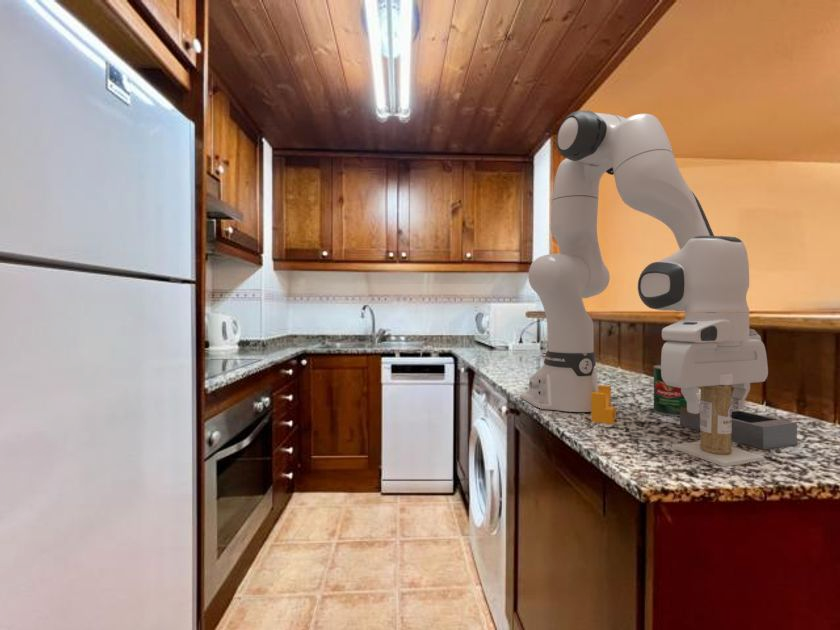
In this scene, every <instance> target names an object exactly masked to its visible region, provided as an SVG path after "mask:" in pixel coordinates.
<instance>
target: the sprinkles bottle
mask: <svg viewBox="0 0 840 630" xmlns="http://www.w3.org/2000/svg"><path fill="white" fill-rule="evenodd" d="M732 384H733V375H732V374H731V373H728V374H721V375H720V382H719V385H716V386H704V387H700V398H699V402H701V403H703V413H700V429H701V431H700V440H699V441H701V443H700V448H701V449H703V450H705V451H707V452H711V453H716V454H729V453H731V452H732V448H731V446H732V441H731V433H732V406H731V396H732V388H733V387H732Z"/></svg>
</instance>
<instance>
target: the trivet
mask: <svg viewBox="0 0 840 630" xmlns="http://www.w3.org/2000/svg"><path fill="white" fill-rule="evenodd" d="M700 443H701V440H699V441H693V442H692V441H691V442H683V443H676V444H675V443H674V444H672V445H671V446H672V449H674V450H677V451H679V452H682V453H685V454H687V455H690V456H693V457H696V458H698V459H702V460H705V461H707V462H710V463H713V464H715V465H718V466H721V467H725V468H726V467H731V466H736V465H744V464H750V463H757V462H760V461H761V462H762V460H763V461H765V457H766V456H764V455H761V454H758V453H754V452H751V451H748V450H744V449H741V448H738V447H734V446H732V445H731V448H732V452H731V453H729V454H716V453H711V452H707V451H705V450H703V449H701V448H700ZM756 461H757V462H756ZM749 462H750V463H749Z"/></svg>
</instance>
